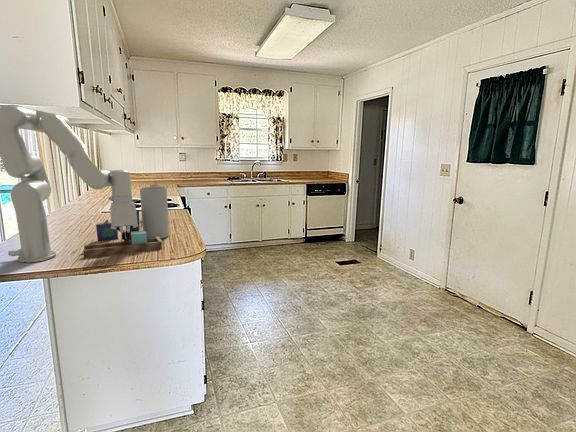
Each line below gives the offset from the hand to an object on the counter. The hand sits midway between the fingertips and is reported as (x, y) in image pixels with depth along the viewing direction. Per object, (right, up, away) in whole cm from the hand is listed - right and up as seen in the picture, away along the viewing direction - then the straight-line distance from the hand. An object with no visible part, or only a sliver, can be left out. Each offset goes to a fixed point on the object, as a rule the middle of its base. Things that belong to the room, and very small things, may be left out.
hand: (125, 240), depth 147 cm
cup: (-5, -2, +19) cm, 19 cm away
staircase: (-12, +9, +70) cm, 72 cm away
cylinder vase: (+3, 0, +27) cm, 27 cm away
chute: (-1, -5, +1) cm, 5 cm away
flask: (-17, -2, +18) cm, 25 cm away
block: (+5, -4, +3) cm, 7 cm away
